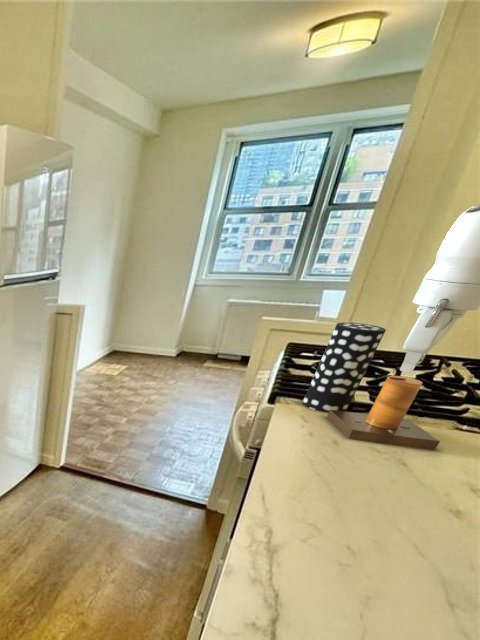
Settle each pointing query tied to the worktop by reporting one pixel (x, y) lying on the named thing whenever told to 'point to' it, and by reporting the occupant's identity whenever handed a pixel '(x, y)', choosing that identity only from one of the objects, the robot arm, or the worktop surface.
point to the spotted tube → (343, 366)
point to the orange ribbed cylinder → (393, 402)
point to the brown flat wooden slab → (381, 431)
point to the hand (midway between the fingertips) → (410, 367)
